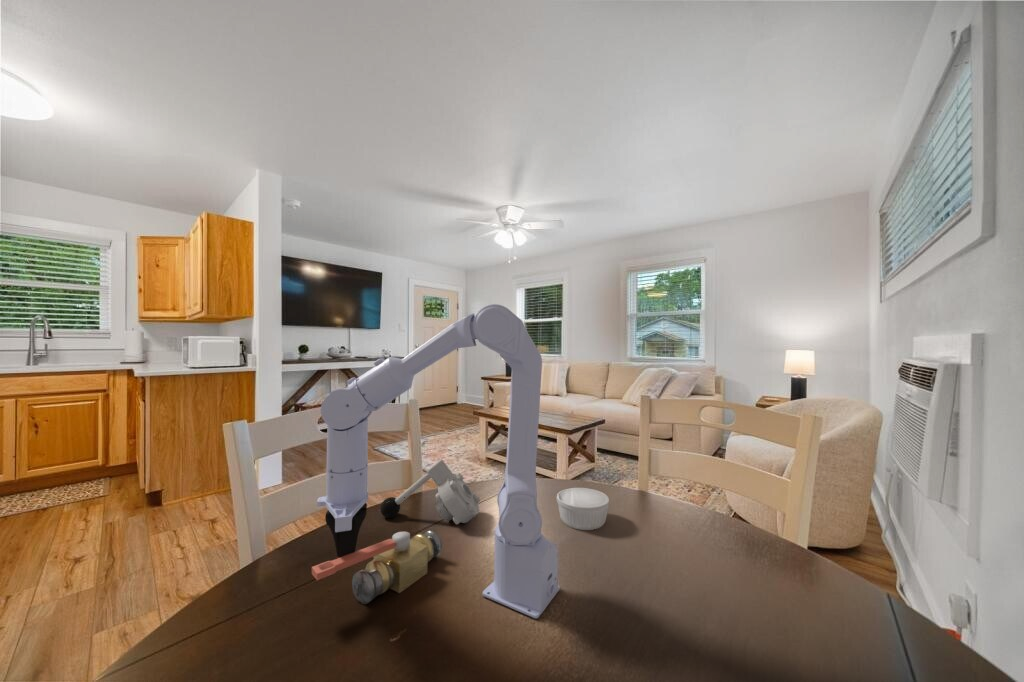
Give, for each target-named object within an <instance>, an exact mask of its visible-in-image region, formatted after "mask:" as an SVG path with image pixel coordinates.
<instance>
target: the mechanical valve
mask: <svg viewBox="0 0 1024 682" xmlns="http://www.w3.org/2000/svg"><path fill="white" fill-rule="evenodd" d="M430 479H431V480H432V481H433V482H434V483H435V486H437V491H438V492H437V493H435V499H436V500H435V504H434V505H435V509H436V512H438V514H439V516H440V517H441V518H442V519H443V520H445V521H446V522H450V521H453V523H454V524H455V525H459V524H460V523H462V524H467V523H469V522H470V521H471V520H472V519H473V518H474V517H475V516H477V515H478V514H479V513H480V508H479V503H480V502H481V499H480V496H478V494H476V493H473V491H472V490H471V488H470V487H469V485H468V484H467V483H466V482H465V481H464V479H465V478H464V476H463V474H462V473H460V472H458V473H457V474H456V473H453V472H452V470H451V469H450V468H449V466H448V465H447V464H446V463H445V461H444V460H443V459H440V460H438V461H437V462H436V463H435V464H434V465H432V467H430V468H429V469H428V470H427V471H426V473H425V474H424V475H422V476H421V477H420V478H419V479H418V480H417V481H416V482H414V483H413V484H412V485H411V486H409V487H408V488H407V489H405V490H404V491H403V492H402V493H401V494H400V495H399V496H397V497H392V496H391V497H387V498H385V499H384V500H383V501H382V502H381V504H382V505H380V512H381V515H382V516H383V517H385V518H387V519H390V518H394V517H396V516H397V515H398V514H399V512H400V509H401V504H402V503H403V502H404V501H406V499H408V498H409V497H410V496H411V495H413V494H414V493H415V492H416V491H417V490H418V489H420V488H421V487H422V486H423V485H425V483H427V482H428V481H429V480H430ZM404 497H405V498H404ZM388 501H390V502H388ZM386 502H388V503H386ZM383 503H384V504H383Z"/></svg>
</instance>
